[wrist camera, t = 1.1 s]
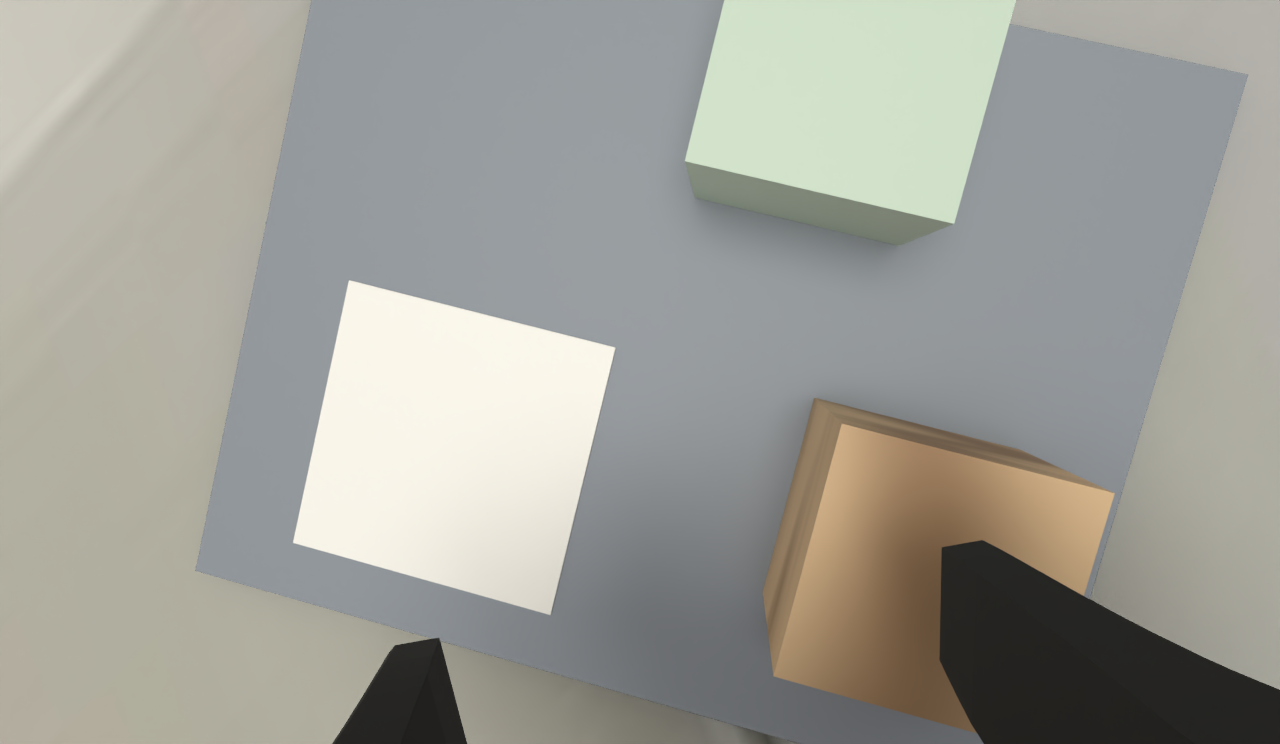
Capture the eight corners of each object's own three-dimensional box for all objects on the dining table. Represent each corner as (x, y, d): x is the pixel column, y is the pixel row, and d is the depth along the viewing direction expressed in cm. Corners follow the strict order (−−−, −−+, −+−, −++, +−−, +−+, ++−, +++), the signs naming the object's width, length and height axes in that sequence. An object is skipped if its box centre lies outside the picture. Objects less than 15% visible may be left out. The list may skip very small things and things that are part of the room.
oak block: (1020, 449, 20) (1114, 493, 15) (963, 646, 21) (1037, 750, 16) (814, 397, 21) (841, 423, 16) (762, 591, 21) (773, 676, 16)
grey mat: (1232, 81, 20) (1251, 73, 19) (1017, 795, 22) (1027, 810, 21) (346, -108, 22) (333, -122, 21) (209, 563, 23) (193, 571, 23)
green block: (955, 35, 20) (1032, -58, 15) (898, 245, 20) (954, 223, 15) (746, -10, 20) (752, -115, 15) (694, 198, 21) (684, 161, 16)
